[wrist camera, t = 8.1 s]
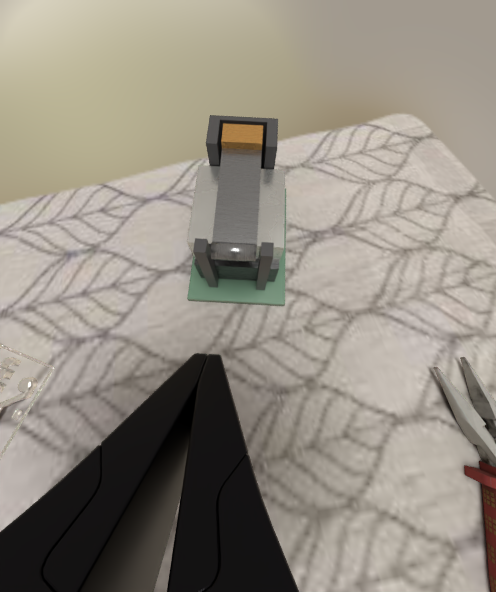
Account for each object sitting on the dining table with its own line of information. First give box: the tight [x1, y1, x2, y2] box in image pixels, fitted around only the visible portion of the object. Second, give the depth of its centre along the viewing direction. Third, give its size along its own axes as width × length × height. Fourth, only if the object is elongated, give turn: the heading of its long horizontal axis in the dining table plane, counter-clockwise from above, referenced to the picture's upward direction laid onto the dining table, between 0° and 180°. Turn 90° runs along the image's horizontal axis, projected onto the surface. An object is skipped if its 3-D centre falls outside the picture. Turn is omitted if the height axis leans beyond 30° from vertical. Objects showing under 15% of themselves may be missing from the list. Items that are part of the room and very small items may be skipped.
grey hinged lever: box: [211, 124, 263, 262], centre depth 17 cm, size 2×3×11 cm
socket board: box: [187, 115, 286, 306], centre depth 20 cm, size 13×9×8 cm
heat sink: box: [187, 165, 285, 282], centre depth 20 cm, size 8×7×6 cm
